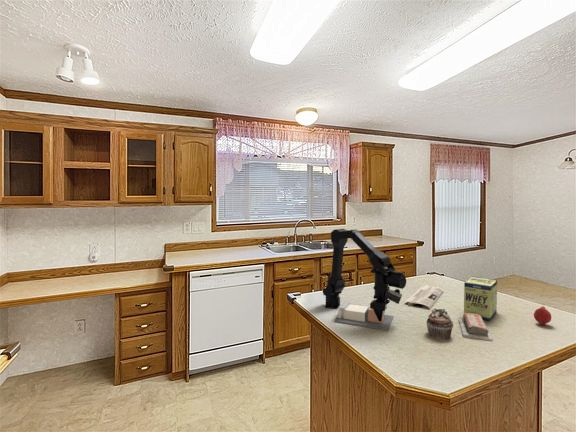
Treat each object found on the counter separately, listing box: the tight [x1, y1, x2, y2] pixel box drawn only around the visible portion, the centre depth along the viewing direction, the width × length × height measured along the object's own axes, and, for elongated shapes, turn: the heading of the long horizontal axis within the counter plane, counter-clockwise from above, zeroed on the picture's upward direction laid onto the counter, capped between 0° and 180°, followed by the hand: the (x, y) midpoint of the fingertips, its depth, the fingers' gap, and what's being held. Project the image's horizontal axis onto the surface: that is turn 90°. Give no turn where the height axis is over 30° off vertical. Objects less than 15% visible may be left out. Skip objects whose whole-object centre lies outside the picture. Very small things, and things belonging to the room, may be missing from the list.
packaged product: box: [458, 312, 494, 342], centre depth 130 cm, size 18×5×10 cm
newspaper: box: [404, 283, 444, 310], centre depth 171 cm, size 35×12×4 cm, turn 144°
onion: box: [533, 305, 552, 326], centre depth 134 cm, size 6×6×8 cm
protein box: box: [463, 276, 498, 322], centre depth 146 cm, size 10×16×16 cm
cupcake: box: [426, 308, 454, 340], centre depth 125 cm, size 10×10×10 cm
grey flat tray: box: [334, 301, 395, 332], centre depth 142 cm, size 23×16×6 cm
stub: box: [368, 306, 385, 323], centre depth 140 cm, size 6×5×5 cm
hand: (381, 318), depth 139 cm, fingers closed on stub, 5 cm apart
